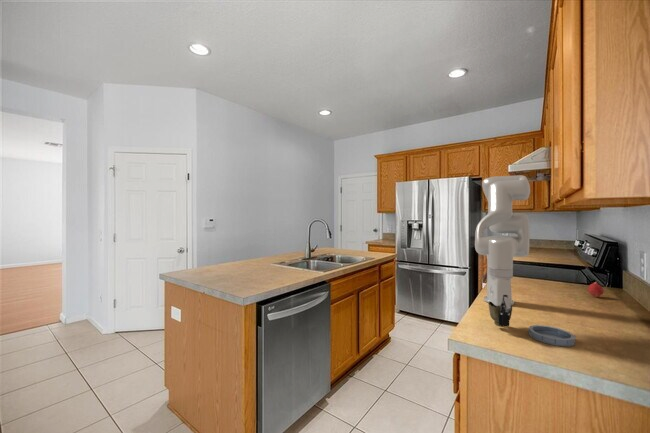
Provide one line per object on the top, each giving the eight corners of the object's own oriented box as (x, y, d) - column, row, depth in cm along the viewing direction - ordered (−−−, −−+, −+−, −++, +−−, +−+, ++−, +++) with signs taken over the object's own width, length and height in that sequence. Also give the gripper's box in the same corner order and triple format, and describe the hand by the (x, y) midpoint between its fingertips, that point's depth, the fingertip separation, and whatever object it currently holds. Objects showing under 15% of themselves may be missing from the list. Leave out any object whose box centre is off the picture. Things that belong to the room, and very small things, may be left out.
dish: (522, 329, 102) (522, 323, 102) (561, 333, 99) (562, 327, 99) (539, 344, 90) (539, 337, 90) (583, 348, 87) (583, 341, 87)
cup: (493, 329, 100) (493, 306, 99) (484, 321, 107) (484, 300, 107) (516, 330, 99) (516, 307, 98) (506, 321, 106) (506, 300, 106)
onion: (584, 296, 146) (584, 280, 146) (593, 295, 147) (593, 280, 147) (597, 299, 141) (597, 283, 141) (606, 298, 142) (606, 282, 142)
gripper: (481, 267, 112) (481, 312, 112) (497, 277, 95) (496, 330, 95) (503, 268, 110) (503, 313, 110) (522, 279, 93) (522, 332, 93)
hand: (500, 321), depth 103 cm, fingers closed on cup, 6 cm apart
